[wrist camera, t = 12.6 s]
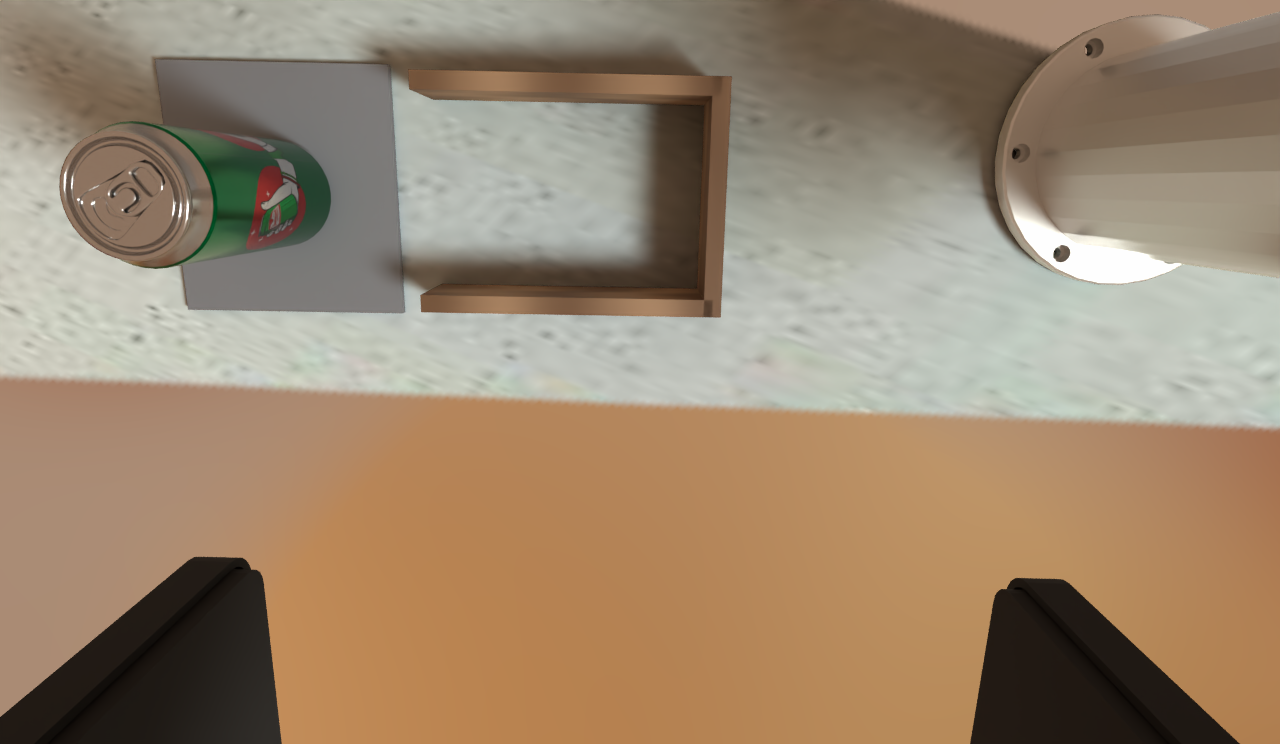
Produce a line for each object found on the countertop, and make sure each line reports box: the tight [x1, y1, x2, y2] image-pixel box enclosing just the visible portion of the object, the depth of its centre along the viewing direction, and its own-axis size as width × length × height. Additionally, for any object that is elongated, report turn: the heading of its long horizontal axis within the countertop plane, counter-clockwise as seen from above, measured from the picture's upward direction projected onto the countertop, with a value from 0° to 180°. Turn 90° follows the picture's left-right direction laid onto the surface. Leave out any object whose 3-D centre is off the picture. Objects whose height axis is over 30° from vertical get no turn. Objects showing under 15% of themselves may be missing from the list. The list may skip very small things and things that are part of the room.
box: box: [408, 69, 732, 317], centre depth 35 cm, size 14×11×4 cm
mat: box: [155, 59, 405, 313], centre depth 37 cm, size 11×12×1 cm
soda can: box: [60, 121, 331, 269], centre depth 31 cm, size 5×5×12 cm
